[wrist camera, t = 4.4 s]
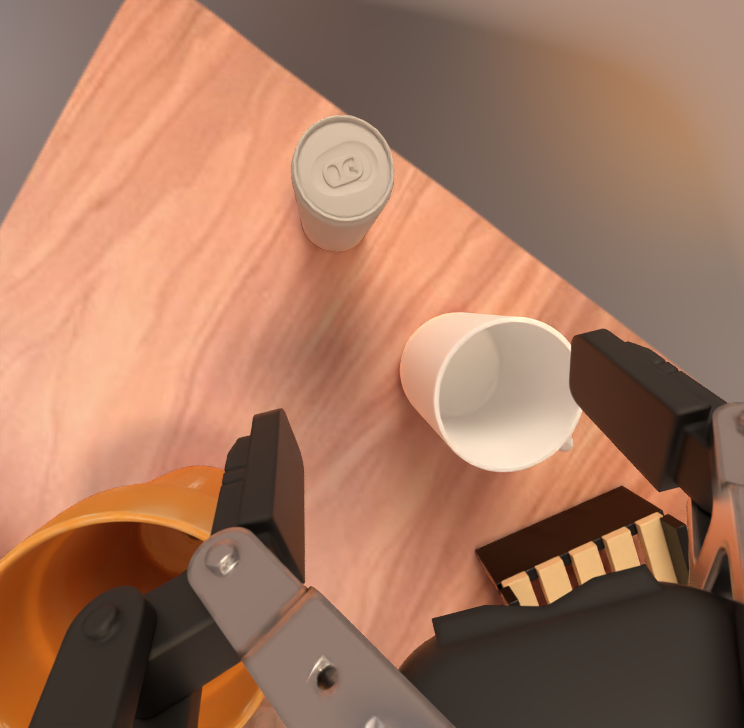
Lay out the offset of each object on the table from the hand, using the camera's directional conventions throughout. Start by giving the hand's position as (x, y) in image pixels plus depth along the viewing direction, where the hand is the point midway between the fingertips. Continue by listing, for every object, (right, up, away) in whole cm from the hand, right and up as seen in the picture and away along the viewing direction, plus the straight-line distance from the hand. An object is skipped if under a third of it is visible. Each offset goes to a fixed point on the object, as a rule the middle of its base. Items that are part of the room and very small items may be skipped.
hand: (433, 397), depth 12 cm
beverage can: (-4, +11, +19) cm, 23 cm away
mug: (+6, 0, +22) cm, 23 cm away
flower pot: (-15, -11, +21) cm, 28 cm away
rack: (+16, -18, +26) cm, 35 cm away
